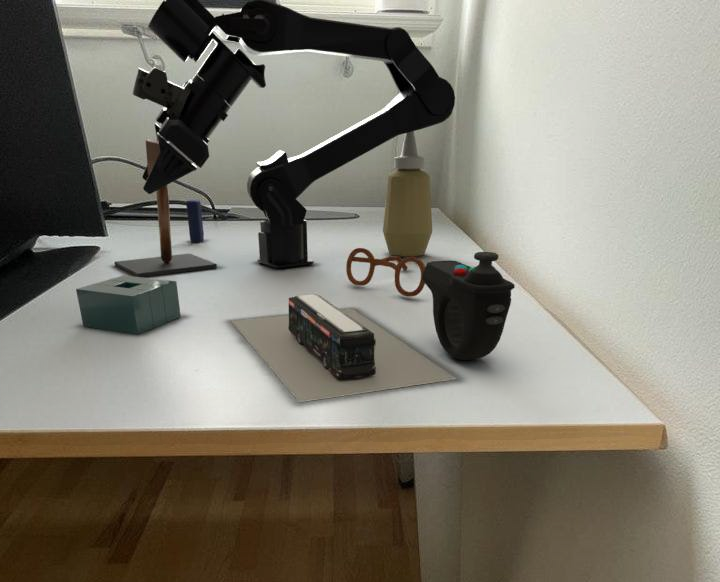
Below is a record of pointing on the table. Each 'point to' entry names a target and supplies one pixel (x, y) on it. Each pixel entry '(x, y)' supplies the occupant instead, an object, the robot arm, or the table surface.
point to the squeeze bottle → (408, 204)
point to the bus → (334, 351)
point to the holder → (129, 304)
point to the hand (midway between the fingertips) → (145, 185)
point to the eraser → (195, 220)
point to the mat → (164, 265)
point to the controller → (468, 305)
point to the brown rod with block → (161, 204)
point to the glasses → (384, 262)
